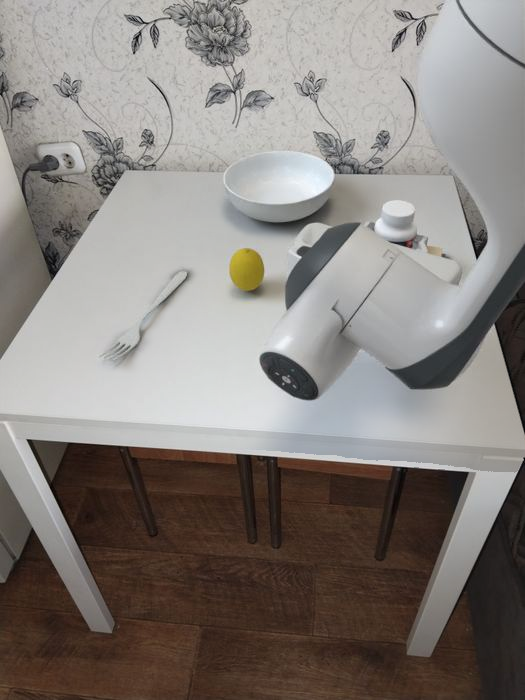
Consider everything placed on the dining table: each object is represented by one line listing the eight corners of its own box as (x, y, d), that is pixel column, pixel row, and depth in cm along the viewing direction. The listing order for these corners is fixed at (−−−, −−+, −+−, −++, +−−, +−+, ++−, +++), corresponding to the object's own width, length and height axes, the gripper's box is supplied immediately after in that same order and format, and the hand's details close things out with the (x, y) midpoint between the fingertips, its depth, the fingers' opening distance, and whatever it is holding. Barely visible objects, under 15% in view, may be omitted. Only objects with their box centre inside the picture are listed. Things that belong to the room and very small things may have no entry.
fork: (193, 273, 100) (192, 265, 99) (117, 370, 84) (114, 362, 83) (176, 269, 101) (175, 261, 100) (98, 365, 85) (95, 356, 84)
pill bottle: (408, 286, 77) (420, 221, 71) (367, 281, 78) (374, 217, 72) (410, 262, 81) (421, 198, 74) (371, 257, 82) (378, 195, 75)
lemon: (266, 280, 98) (264, 239, 92) (263, 301, 94) (261, 260, 88) (233, 279, 98) (230, 238, 93) (229, 300, 94) (225, 259, 89)
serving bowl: (336, 182, 120) (337, 150, 116) (329, 240, 106) (331, 206, 101) (235, 178, 123) (233, 147, 118) (215, 234, 108) (212, 201, 103)
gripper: (445, 297, 62) (482, 233, 70) (276, 245, 70) (327, 193, 78) (435, 341, 66) (471, 275, 75) (277, 288, 74) (325, 234, 82)
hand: (396, 233), depth 76 cm, fingers closed on pill bottle, 5 cm apart
